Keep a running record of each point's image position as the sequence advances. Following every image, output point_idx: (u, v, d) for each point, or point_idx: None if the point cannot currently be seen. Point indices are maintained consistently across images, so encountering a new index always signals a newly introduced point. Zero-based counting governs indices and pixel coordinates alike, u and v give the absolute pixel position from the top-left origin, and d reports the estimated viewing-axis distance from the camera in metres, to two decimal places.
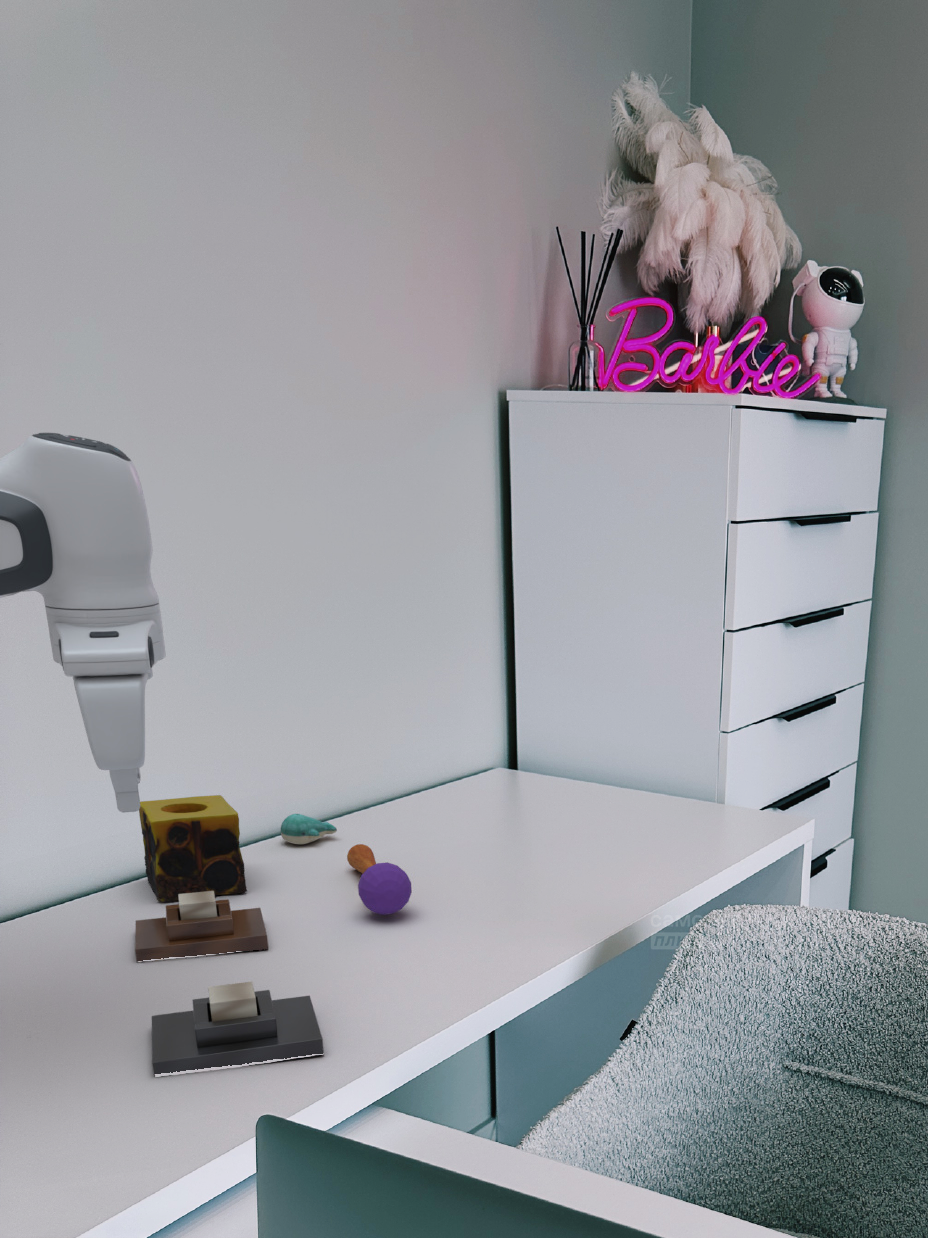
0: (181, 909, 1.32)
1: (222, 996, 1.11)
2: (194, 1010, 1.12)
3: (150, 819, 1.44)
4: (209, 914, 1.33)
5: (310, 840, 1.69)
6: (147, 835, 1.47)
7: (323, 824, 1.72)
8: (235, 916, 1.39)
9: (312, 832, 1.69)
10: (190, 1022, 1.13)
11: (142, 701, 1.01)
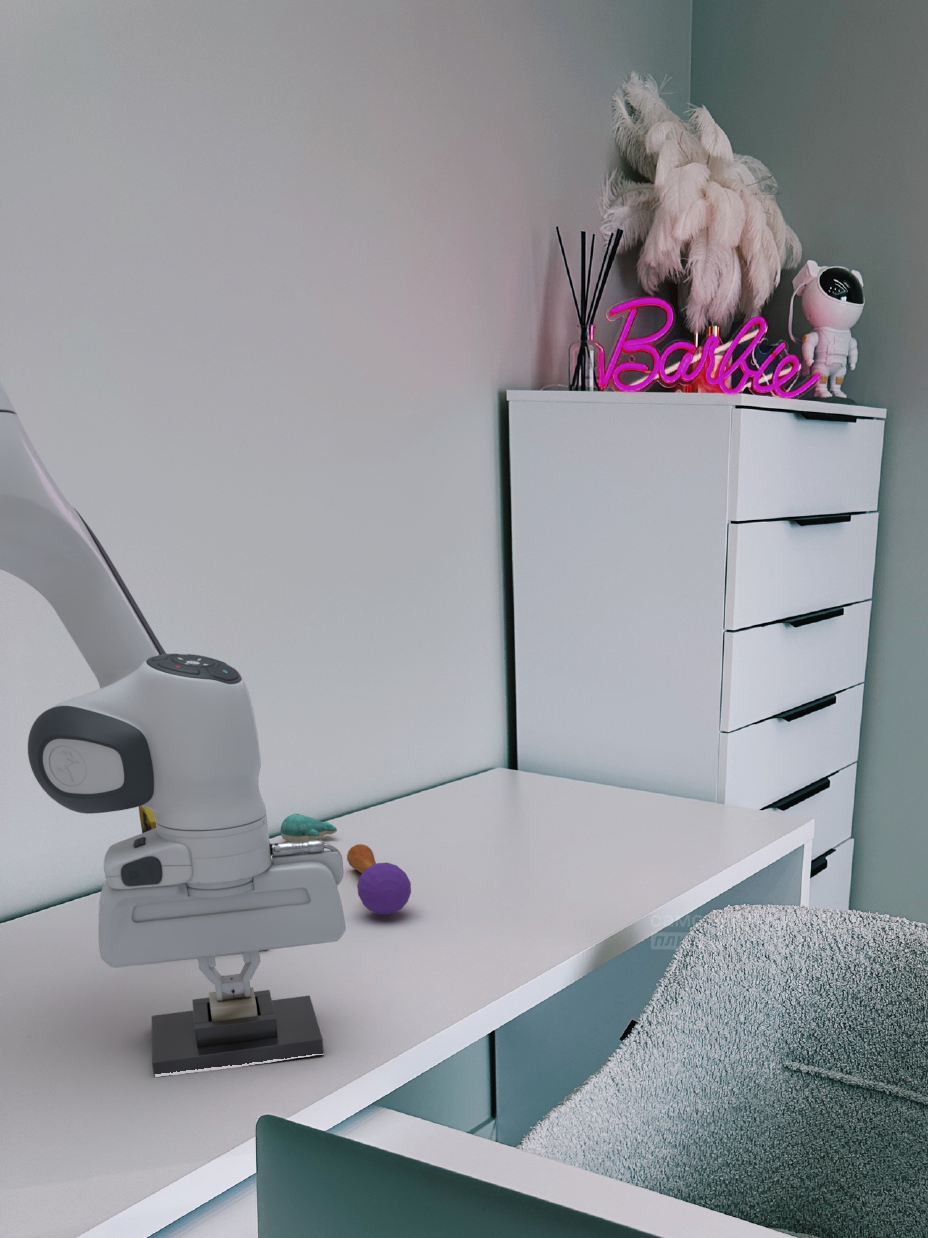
0: None
1: (223, 1002, 1.11)
2: (194, 1010, 1.12)
3: (150, 819, 1.44)
4: None
5: None
6: None
7: (323, 824, 1.72)
8: None
9: (312, 832, 1.69)
10: (190, 1022, 1.13)
11: (101, 911, 1.03)
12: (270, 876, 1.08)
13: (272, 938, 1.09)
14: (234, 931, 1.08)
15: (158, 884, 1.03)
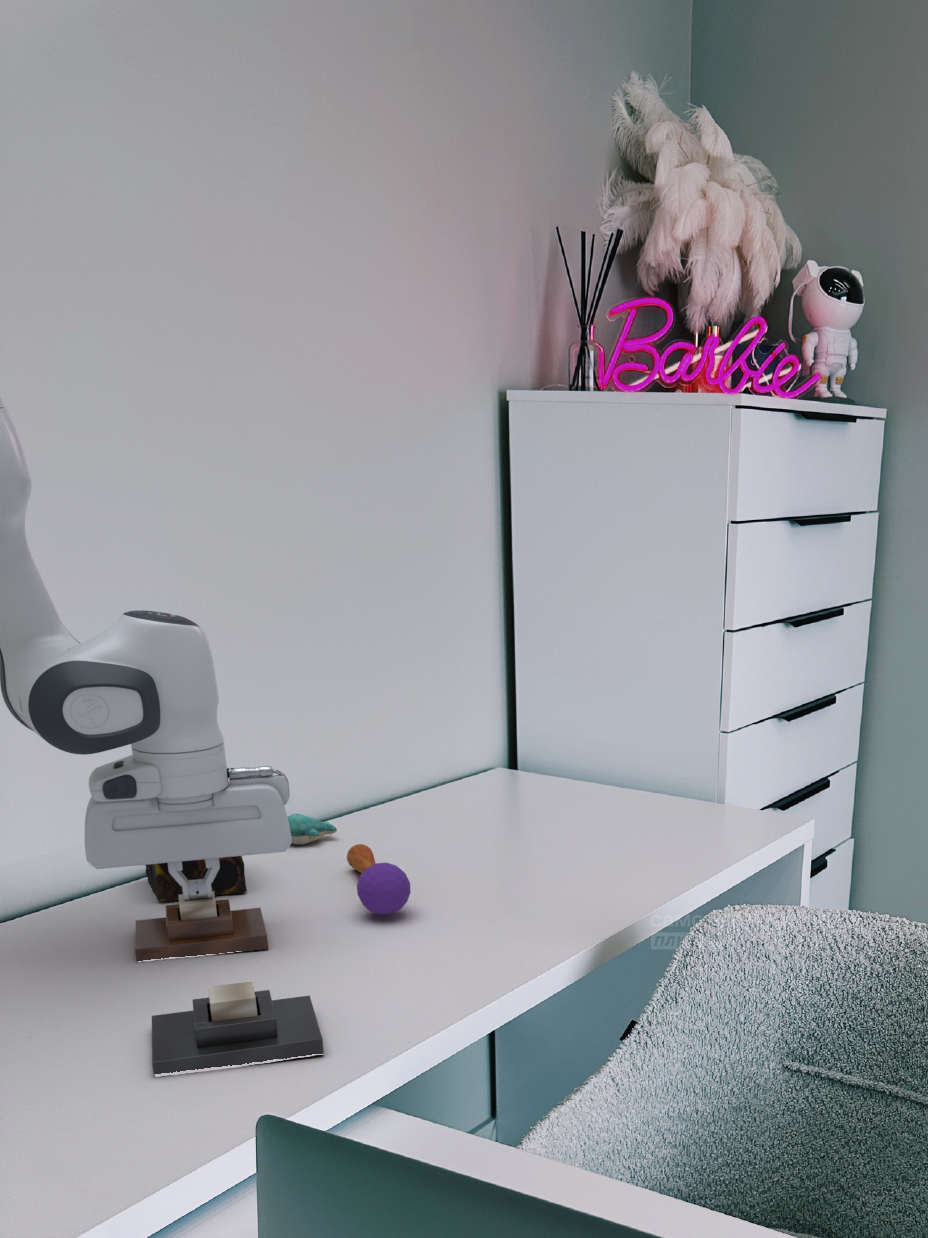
0: (181, 910, 1.32)
1: (222, 996, 1.11)
2: (194, 1010, 1.12)
3: None
4: (209, 915, 1.33)
5: (310, 840, 1.69)
6: None
7: (323, 824, 1.72)
8: (235, 916, 1.39)
9: (312, 832, 1.69)
10: (190, 1022, 1.13)
11: (87, 820, 1.25)
12: (227, 794, 1.30)
13: (229, 847, 1.32)
14: (198, 841, 1.30)
15: (133, 798, 1.25)
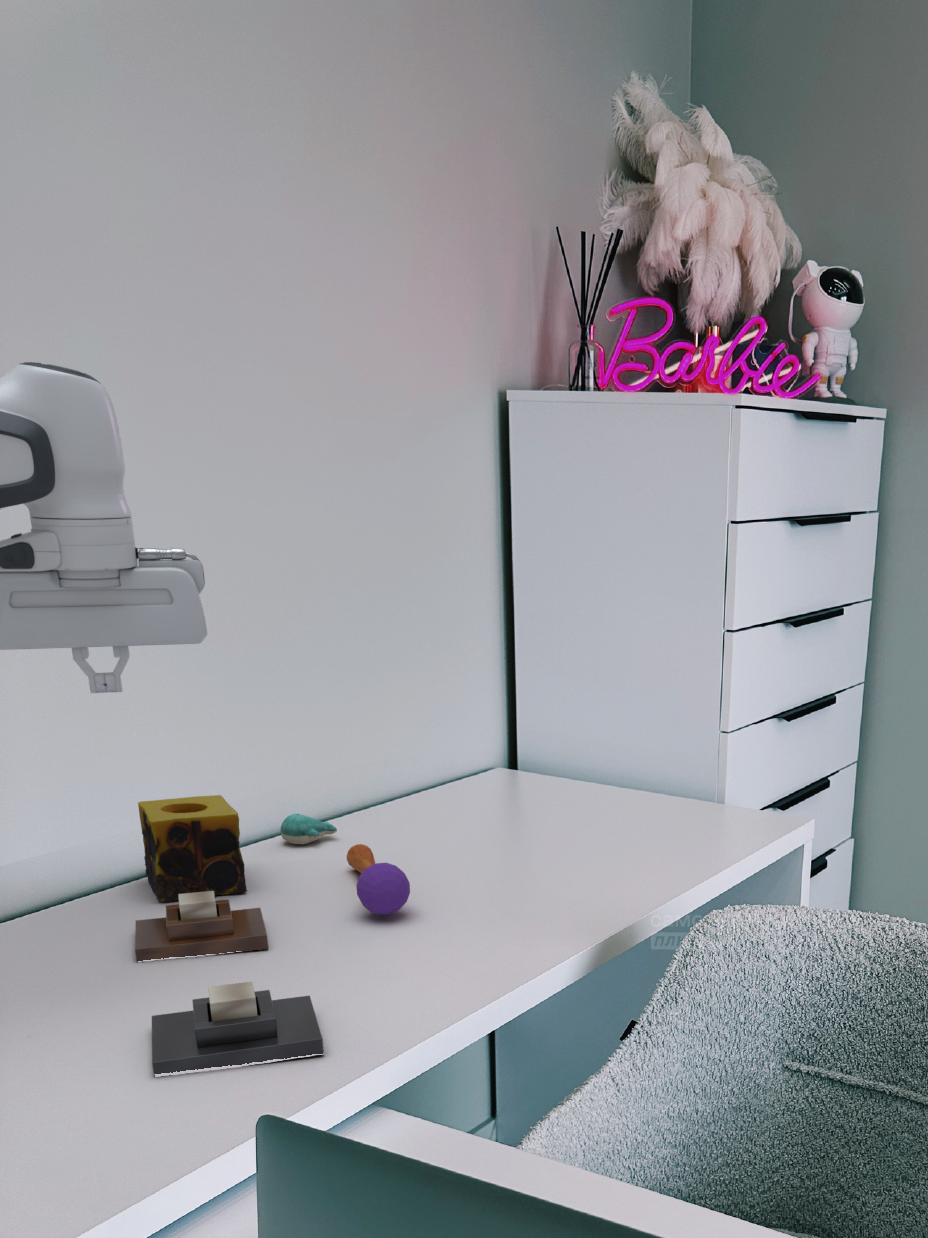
0: (181, 909, 1.32)
1: (222, 996, 1.11)
2: (194, 1010, 1.12)
3: (150, 819, 1.44)
4: (209, 914, 1.33)
5: (310, 840, 1.69)
6: (147, 835, 1.47)
7: (323, 824, 1.72)
8: (235, 916, 1.39)
9: (312, 832, 1.69)
10: (190, 1022, 1.13)
11: None
12: (135, 574, 1.22)
13: (138, 634, 1.23)
14: (104, 624, 1.22)
15: (31, 569, 1.17)
